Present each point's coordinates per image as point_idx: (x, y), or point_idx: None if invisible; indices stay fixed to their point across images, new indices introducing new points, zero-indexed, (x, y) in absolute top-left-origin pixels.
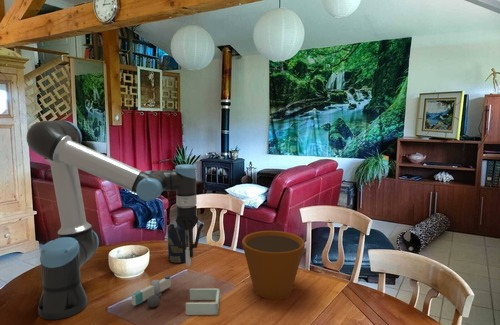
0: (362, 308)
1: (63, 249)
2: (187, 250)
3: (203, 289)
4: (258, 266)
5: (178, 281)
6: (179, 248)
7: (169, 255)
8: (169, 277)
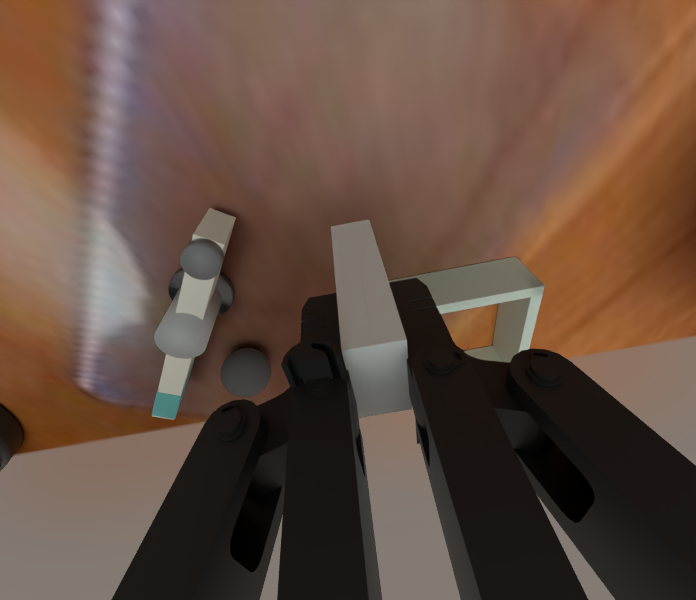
0: None
1: None
2: (384, 407)
3: (460, 309)
4: None
5: (230, 95)
6: None
7: None
8: (222, 262)
